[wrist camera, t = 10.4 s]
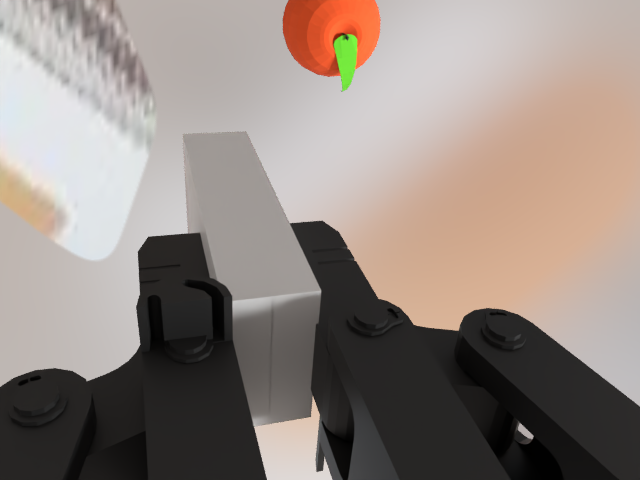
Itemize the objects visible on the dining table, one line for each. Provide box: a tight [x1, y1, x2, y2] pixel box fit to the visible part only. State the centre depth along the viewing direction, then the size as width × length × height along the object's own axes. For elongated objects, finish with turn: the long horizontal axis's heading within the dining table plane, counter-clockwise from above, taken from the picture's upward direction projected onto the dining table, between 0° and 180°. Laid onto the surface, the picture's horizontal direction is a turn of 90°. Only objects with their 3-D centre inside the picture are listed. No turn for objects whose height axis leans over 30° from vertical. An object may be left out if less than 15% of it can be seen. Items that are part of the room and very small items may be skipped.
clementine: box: [283, 0, 380, 91], centre depth 43 cm, size 8×7×7 cm
